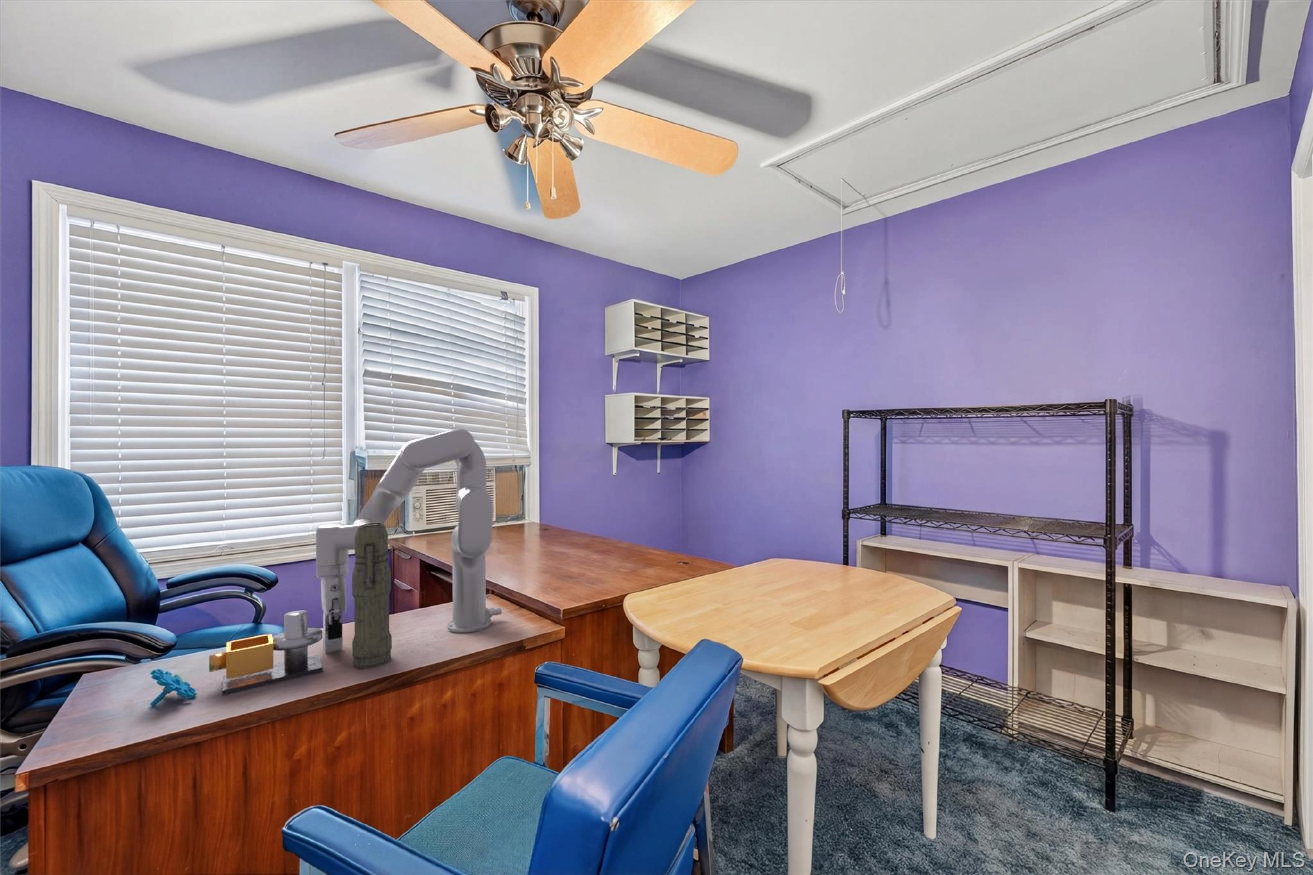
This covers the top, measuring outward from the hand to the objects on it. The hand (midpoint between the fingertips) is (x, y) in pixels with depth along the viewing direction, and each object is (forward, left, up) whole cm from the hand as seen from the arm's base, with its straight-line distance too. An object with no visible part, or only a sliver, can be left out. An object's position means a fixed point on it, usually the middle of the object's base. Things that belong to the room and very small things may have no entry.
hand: (332, 633), depth 144 cm
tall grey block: (0, 0, -4) cm, 4 cm away
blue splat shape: (+31, +11, -5) cm, 33 cm away
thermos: (-7, +16, -4) cm, 18 cm away
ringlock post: (+14, +10, -4) cm, 18 cm away
